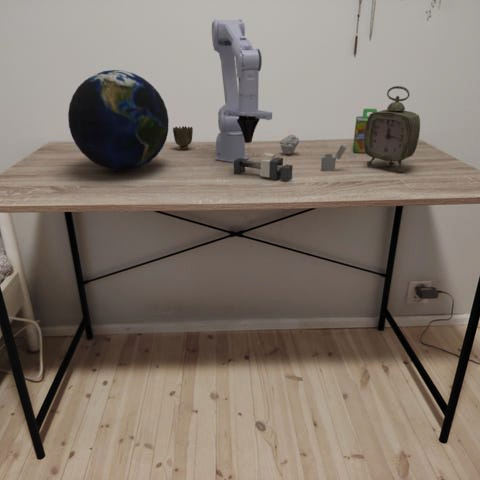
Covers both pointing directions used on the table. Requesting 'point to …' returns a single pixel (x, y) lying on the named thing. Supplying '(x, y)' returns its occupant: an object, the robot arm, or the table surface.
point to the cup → (183, 136)
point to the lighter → (331, 160)
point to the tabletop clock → (392, 132)
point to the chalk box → (361, 131)
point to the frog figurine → (289, 144)
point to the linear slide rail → (242, 163)
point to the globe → (118, 120)
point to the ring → (275, 168)
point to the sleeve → (266, 164)
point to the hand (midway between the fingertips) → (248, 142)
